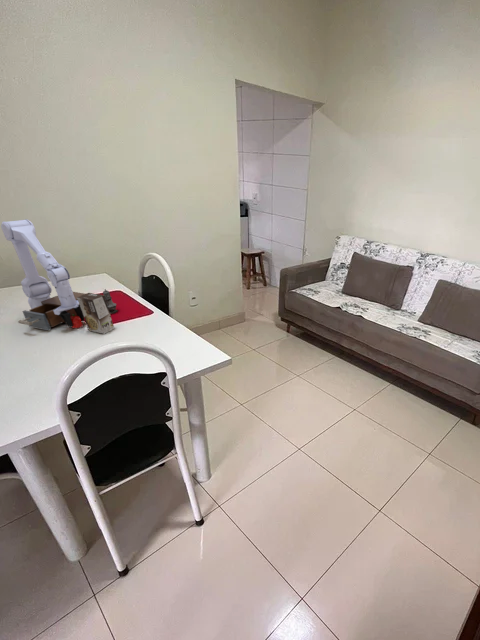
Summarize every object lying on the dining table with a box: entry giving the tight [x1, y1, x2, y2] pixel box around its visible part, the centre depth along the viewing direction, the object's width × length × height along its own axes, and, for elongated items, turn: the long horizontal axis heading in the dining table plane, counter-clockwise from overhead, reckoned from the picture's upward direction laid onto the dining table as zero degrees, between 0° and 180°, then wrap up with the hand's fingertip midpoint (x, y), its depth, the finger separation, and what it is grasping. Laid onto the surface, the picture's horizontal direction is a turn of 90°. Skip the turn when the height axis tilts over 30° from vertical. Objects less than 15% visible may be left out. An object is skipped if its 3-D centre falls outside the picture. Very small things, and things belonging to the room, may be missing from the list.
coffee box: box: [77, 292, 115, 335], centre depth 145 cm, size 9×6×16 cm
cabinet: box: [41, 291, 85, 324], centre depth 158 cm, size 16×13×9 cm
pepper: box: [71, 314, 84, 329], centre depth 149 cm, size 5×5×6 cm
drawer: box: [17, 304, 64, 331], centre depth 148 cm, size 19×11×7 cm, turn 163°
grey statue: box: [102, 288, 119, 315], centre depth 163 cm, size 6×6×12 cm
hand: (76, 323), depth 150 cm, fingers open, 6 cm apart
